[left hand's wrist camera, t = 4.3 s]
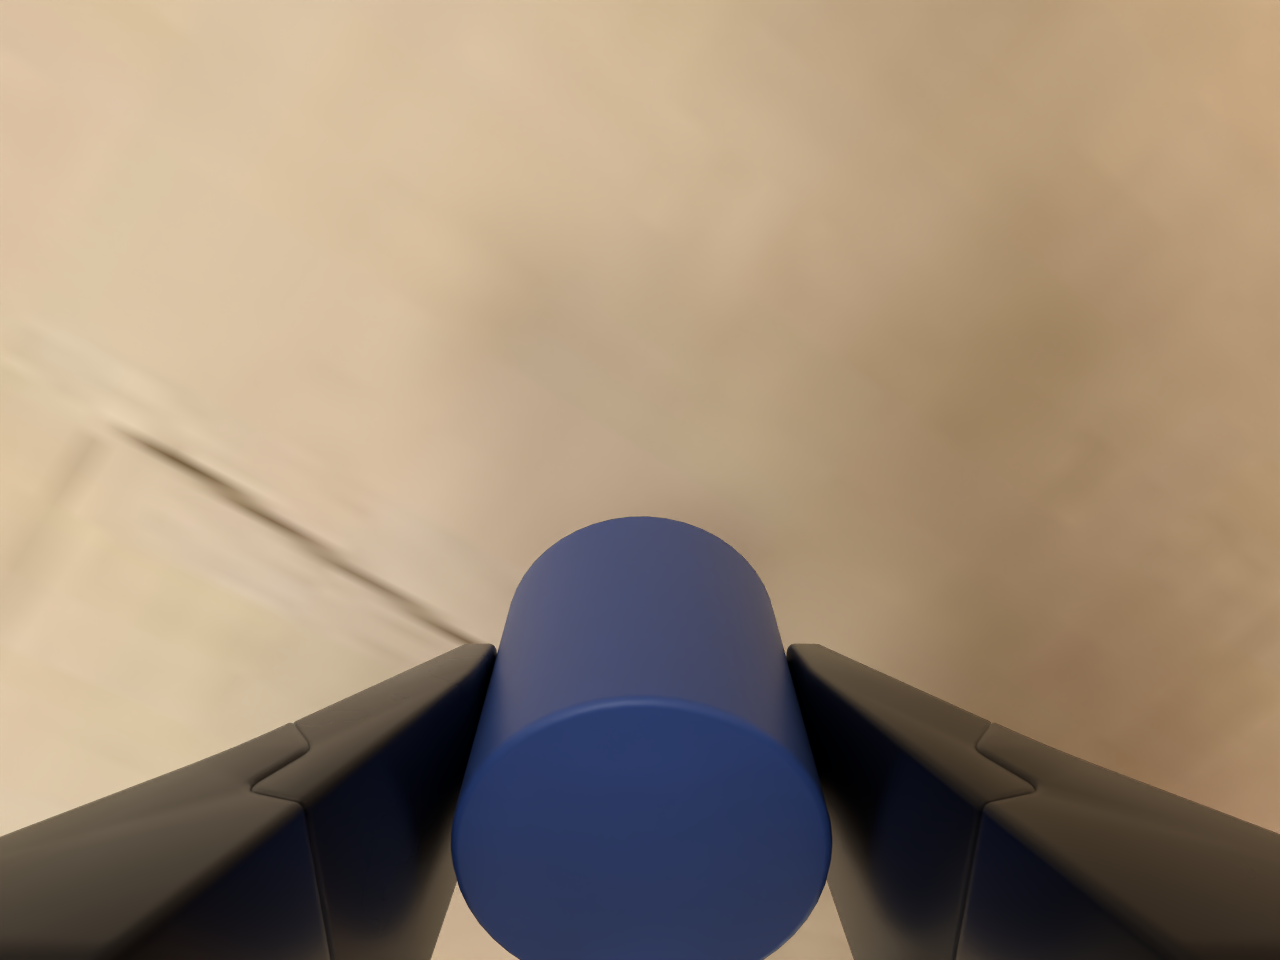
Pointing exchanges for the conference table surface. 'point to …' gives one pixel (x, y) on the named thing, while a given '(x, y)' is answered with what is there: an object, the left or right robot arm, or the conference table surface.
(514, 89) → the conference table surface
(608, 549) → the cylinder
